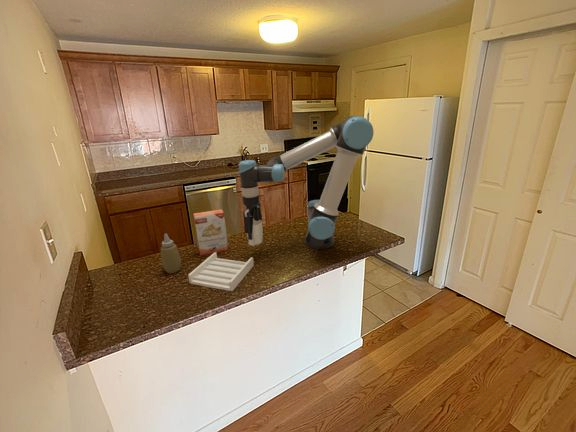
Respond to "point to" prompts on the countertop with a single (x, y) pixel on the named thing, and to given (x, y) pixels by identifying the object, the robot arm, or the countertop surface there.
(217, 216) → the cracker box
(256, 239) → the white cup
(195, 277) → the drying rack
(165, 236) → the squeeze bottle
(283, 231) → the countertop surface
